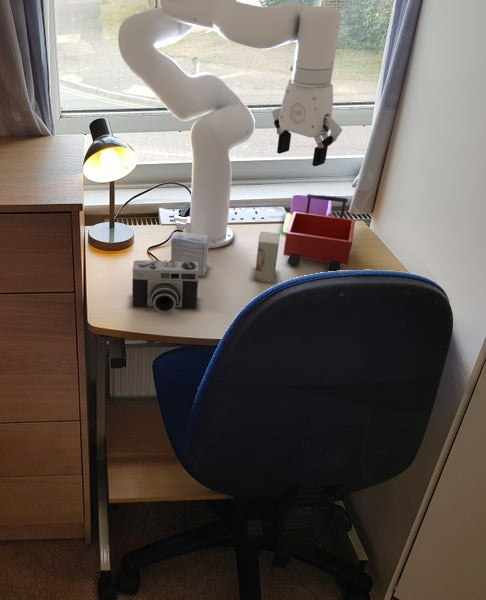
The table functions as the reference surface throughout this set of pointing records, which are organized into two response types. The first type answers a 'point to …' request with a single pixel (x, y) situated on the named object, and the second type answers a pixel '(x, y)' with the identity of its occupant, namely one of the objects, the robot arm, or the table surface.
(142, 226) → the table surface
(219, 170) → the robot arm
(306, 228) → the cart
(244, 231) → the table surface
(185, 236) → the medicine box
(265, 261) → the white carton box
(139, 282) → the camera
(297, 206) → the miniature room corner
